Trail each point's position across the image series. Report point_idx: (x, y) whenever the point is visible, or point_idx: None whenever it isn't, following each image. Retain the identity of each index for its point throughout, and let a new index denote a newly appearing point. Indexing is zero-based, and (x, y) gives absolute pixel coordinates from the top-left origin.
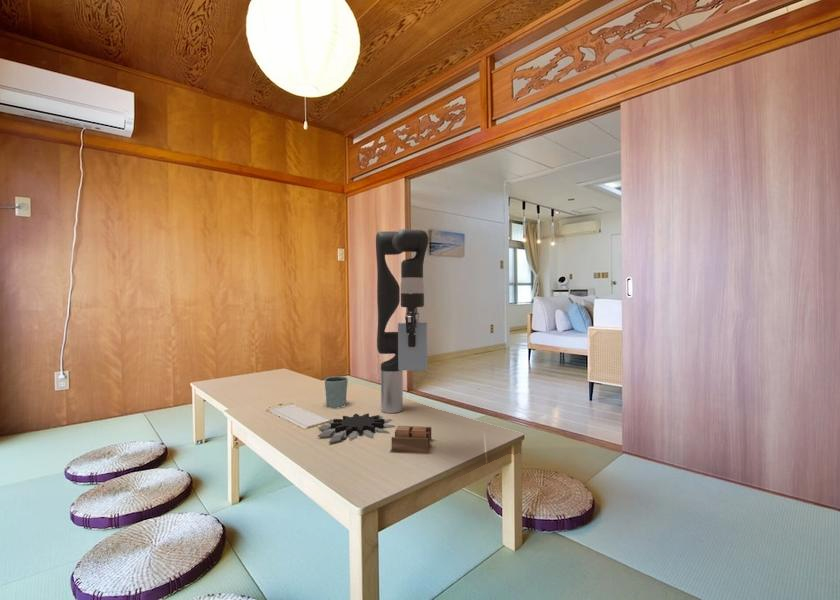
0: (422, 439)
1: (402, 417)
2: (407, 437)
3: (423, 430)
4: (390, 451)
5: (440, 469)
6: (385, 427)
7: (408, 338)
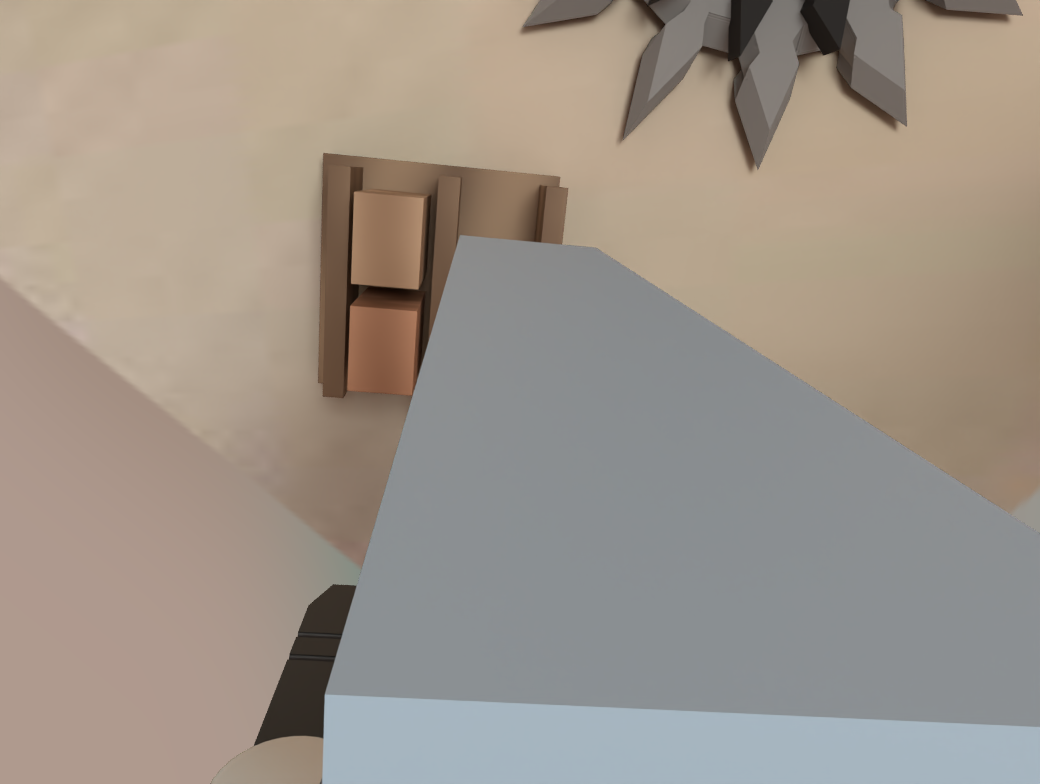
0: (323, 365)
1: (1027, 170)
2: (344, 271)
3: (354, 381)
4: (336, 158)
5: (212, 432)
6: (749, 72)
7: None
